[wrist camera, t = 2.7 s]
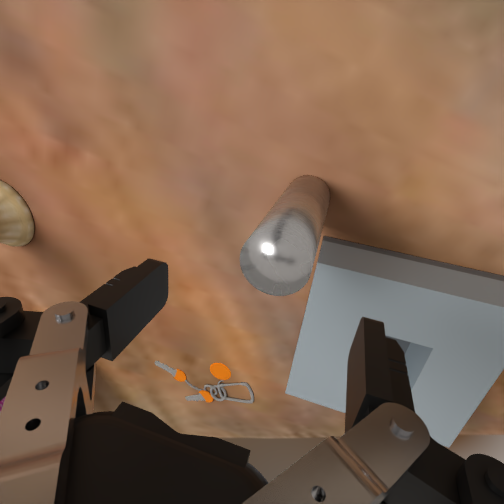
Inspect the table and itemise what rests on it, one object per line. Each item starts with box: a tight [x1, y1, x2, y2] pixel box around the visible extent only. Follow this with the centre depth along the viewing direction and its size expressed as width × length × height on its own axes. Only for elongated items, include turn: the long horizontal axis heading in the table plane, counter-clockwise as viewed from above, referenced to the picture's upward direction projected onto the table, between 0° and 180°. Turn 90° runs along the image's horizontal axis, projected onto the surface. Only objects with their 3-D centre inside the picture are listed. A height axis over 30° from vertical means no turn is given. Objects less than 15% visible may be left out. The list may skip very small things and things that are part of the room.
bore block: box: [285, 236, 504, 447], centre depth 27 cm, size 14×14×5 cm
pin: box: [240, 175, 330, 296], centre depth 21 cm, size 4×4×12 cm
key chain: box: [155, 361, 254, 403], centre depth 40 cm, size 13×7×1 cm, turn 103°
